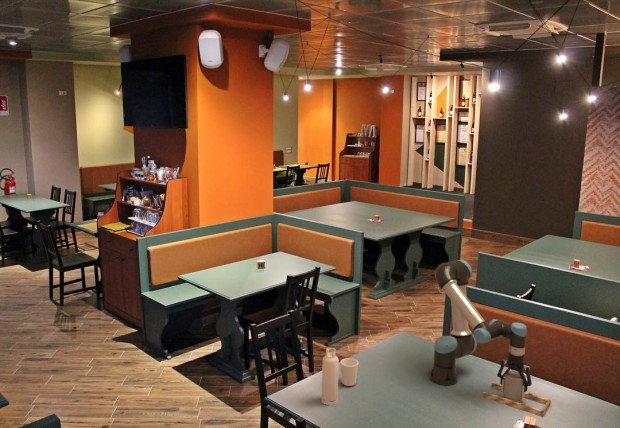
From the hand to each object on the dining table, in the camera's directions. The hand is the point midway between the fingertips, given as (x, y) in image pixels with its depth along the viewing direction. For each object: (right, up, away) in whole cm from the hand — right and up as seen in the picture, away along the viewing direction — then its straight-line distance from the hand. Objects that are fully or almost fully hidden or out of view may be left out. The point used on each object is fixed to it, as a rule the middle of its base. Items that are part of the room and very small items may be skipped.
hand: (512, 393), depth 280 cm
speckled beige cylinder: (0, -2, 0) cm, 2 cm away
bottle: (-95, -3, -4) cm, 95 cm away
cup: (-84, +1, +14) cm, 85 cm away
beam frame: (+2, -3, 0) cm, 4 cm away
